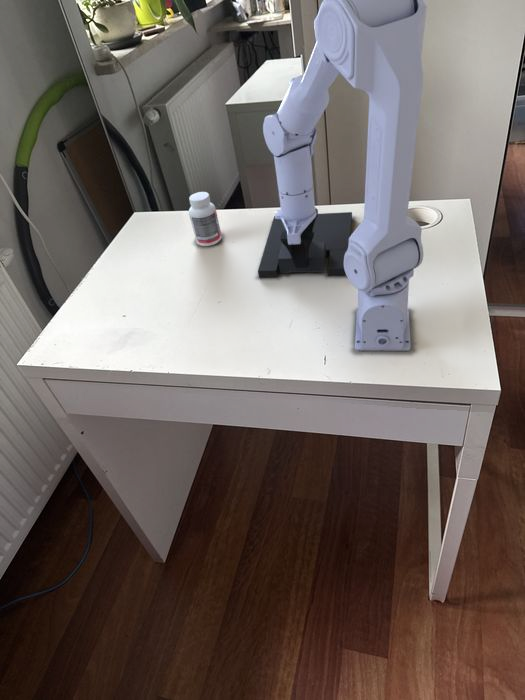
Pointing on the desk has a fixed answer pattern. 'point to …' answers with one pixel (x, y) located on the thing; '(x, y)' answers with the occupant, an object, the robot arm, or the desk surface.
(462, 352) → the desk surface
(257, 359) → the desk surface
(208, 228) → the pill bottle
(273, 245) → the big pad
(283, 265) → the small pad
